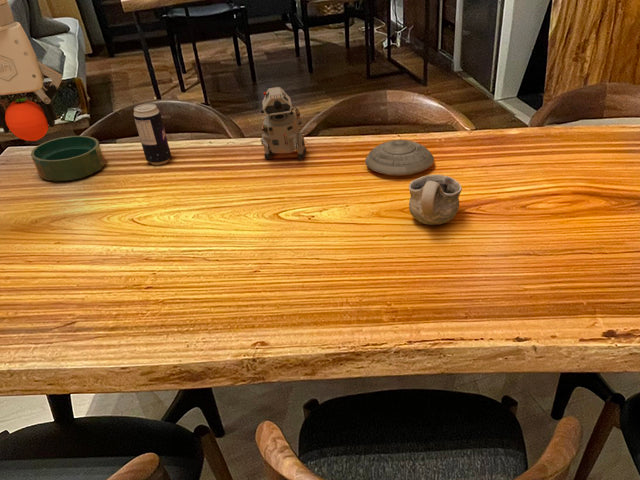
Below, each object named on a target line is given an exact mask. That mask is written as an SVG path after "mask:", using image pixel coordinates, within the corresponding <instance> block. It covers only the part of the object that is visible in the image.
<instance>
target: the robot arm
mask: <svg viewBox="0 0 640 480" xmlns="http://www.w3.org/2000/svg"><path fill="white" fill-rule="evenodd" d="M45 77H47V78H49V79H50V80H51V81H50V84H49V86H48V87H47V88H46V87H45V86H44V81H45ZM62 81H63V75H62V74H61V73H59V72H57V71H56V70H53V69H52V68H51V67H49V66H47V65H45V64H44V63H42V62H40V61H39V59H38V57H37V54H36V52H35V50H34V48H33V46H32V43H31V41H30V40H29V37H28V35H27V33H26V31H25V29H24V28H23V26H22V25H21V23H20V22H18V21H16V20H15V17H14V15H13V12H12V10H11V7H10V3H9V1H8V0H0V96H6V95H15V94H24V93H32V92H33V93H34V94H35V95H36V96H37V97H38V98H39V99H40V100H41V102H42V103H41V108H42V109H43V110H44V113H45V116H46V118H47V121H48V124H49V127H50V128H54V127H55V124H56V121H57V120H58V116H57V112H56V111H55V107H54V105H53V102H52V100H53V99H54V97H55V95H56V93H57V91H58V89H59V87H60V85H61V82H62ZM5 112H6V110H5V108H4V106H3V105H2V104H0V128H2V130H3V132H4V134H8V133H9V132H11V131H10V130H9V128H8V126H7V125H6V121H5Z"/></svg>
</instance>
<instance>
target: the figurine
mask: <svg viewBox="0 0 640 480" xmlns="http://www.w3.org/2000/svg"><path fill="white" fill-rule="evenodd" d="M263 95H264V98H263V99H262V103H261V104H262V110H260V113H261V114H262V115H263V114H265V116H264V119H263V122H262V125H261V128H260V129H261V131H262V132H263V133H262V134H261V138H260V139H259V141H260V144H261V145H262V146H263V150H264V154H263V155H264V159H265V160H271V158H272V156H273V155H274V154H291V153H294V152H297V160H299V161H303V160H304V159H305V156H306V154H307V147H306V144H305V137H304V133H303V132H300V128H299V126H300V125H302V124H303V123H302V119H301V111H300V109H298V108H297V107H295V106H294V107H293V104H292V100H291V97H290V96H289V95H288V94H287V93H286V92H285V90H284V89H283V88H282V87H281V86H275V87H269V88H267V90H266V91H264V92H263ZM294 109H295V111H293V110H294Z"/></svg>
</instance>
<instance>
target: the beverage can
mask: <svg viewBox="0 0 640 480" xmlns="http://www.w3.org/2000/svg"><path fill="white" fill-rule="evenodd" d="M133 119H134V123H135V126H136V130H137V133H138V136H139V140H140V143H141V147H142V151H143V154H144V158H145V160H146V161H147V162H148V163H149V164H151V165H154V166H160V165H164V164H167V163H168V162H169V161H170V159H171V157H172V152H171V149H170V145H169V141H168V137H167V134H166V130H165V125H164V120H163V118H162V114H161V111H160V110H159V108H158V106H157V105H156V104H155V103H142V104H138V105H136V106H134V108H133Z"/></svg>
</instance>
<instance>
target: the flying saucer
mask: <svg viewBox="0 0 640 480" xmlns="http://www.w3.org/2000/svg"><path fill="white" fill-rule="evenodd" d="M434 162H435V158H434V155H433V154H432V152H431V151H430V150H429V149H428V148H427V147H426V146H424V145H422V144H421V143H419V142H416V141H413V140H409V139H392V140H388V141H385V142H382V143H380V144H378V145H377V146H375V147H374V148H372V149H371V150H370V151H369V153H368V154H367V155H366V157H365V160H364V163H365V165H366V166H367V167H368V168H369V169H370V170H372V171H373V172H376V173H379V174H382V175H385V176H386V175H387V176H408V175H415V174H418V173H422V172H423V171H425V170H427V169H429V168H430V167H431V166H432V165H433V164H434Z"/></svg>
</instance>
